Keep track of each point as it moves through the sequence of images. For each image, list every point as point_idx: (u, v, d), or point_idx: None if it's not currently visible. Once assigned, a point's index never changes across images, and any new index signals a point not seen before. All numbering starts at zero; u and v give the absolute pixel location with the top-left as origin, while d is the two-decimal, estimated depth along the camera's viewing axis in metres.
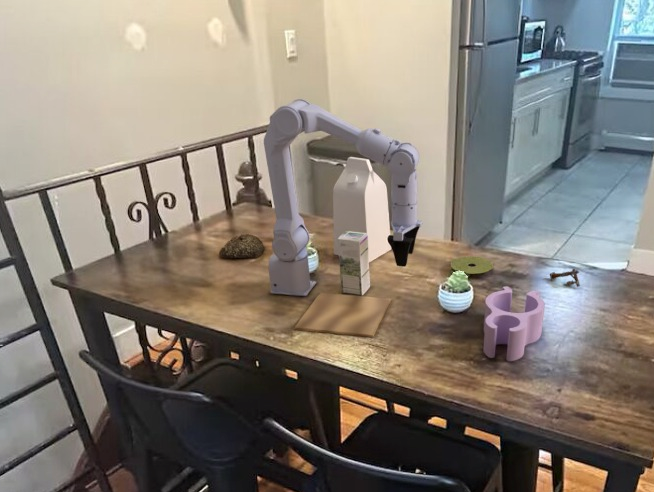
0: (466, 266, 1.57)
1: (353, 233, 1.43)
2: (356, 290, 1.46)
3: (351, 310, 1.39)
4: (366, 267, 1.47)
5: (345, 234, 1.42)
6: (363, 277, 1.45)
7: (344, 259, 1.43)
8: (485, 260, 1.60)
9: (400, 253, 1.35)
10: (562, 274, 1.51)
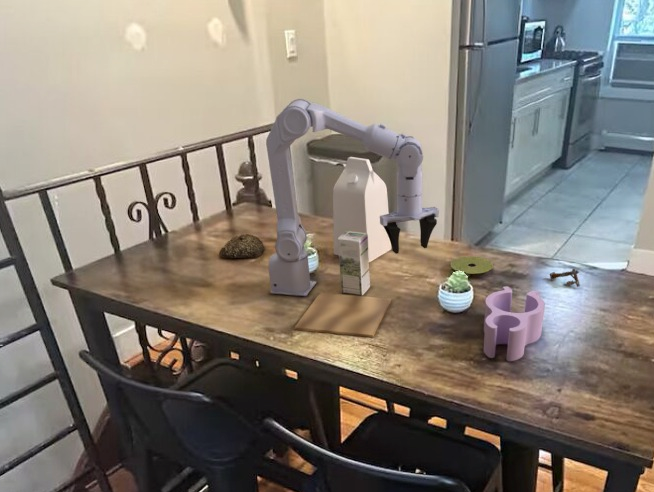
0: (467, 266, 1.57)
1: (353, 233, 1.43)
2: (356, 290, 1.46)
3: (351, 310, 1.39)
4: (366, 267, 1.47)
5: (345, 234, 1.42)
6: (363, 277, 1.45)
7: (344, 259, 1.43)
8: (485, 260, 1.60)
9: (393, 239, 1.42)
10: (562, 274, 1.51)
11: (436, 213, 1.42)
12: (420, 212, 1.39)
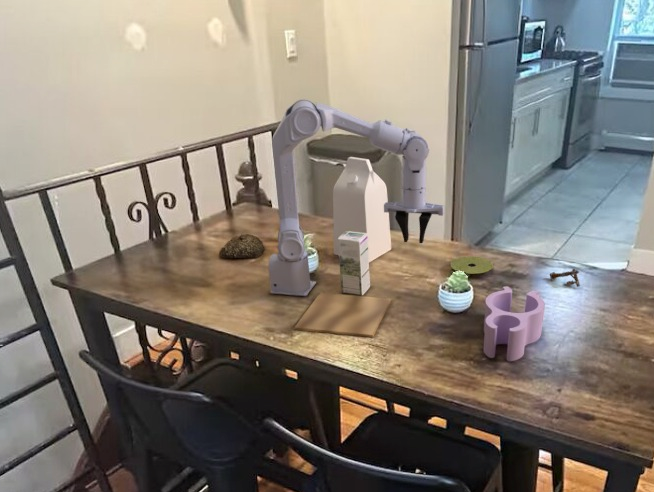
0: (466, 266, 1.57)
1: (353, 233, 1.43)
2: (356, 290, 1.46)
3: (351, 310, 1.39)
4: (366, 267, 1.47)
5: (345, 234, 1.42)
6: (363, 277, 1.45)
7: (344, 259, 1.43)
8: (485, 260, 1.60)
9: None
10: (562, 274, 1.51)
11: (440, 211, 1.43)
12: (419, 206, 1.42)
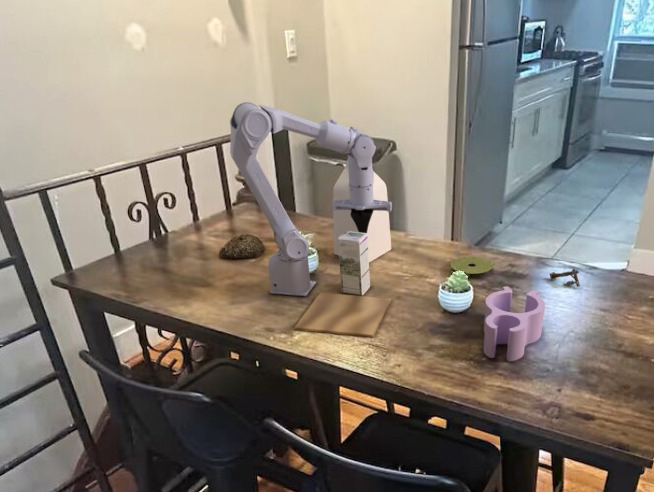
0: (467, 266, 1.57)
1: (353, 233, 1.43)
2: (356, 290, 1.46)
3: (351, 310, 1.39)
4: (366, 267, 1.47)
5: (345, 234, 1.42)
6: (363, 277, 1.45)
7: (344, 259, 1.43)
8: (485, 260, 1.60)
9: None
10: (562, 274, 1.51)
11: (388, 207, 1.46)
12: (367, 203, 1.45)
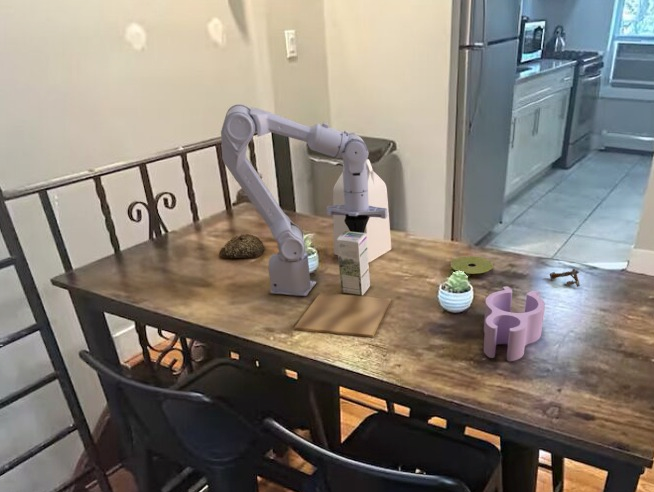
0: (467, 266, 1.57)
1: (352, 233, 1.42)
2: (356, 290, 1.46)
3: (351, 310, 1.39)
4: (366, 267, 1.46)
5: (344, 234, 1.42)
6: (363, 278, 1.45)
7: (343, 259, 1.43)
8: (485, 260, 1.60)
9: None
10: (562, 274, 1.51)
11: (382, 214, 1.41)
12: (361, 209, 1.41)
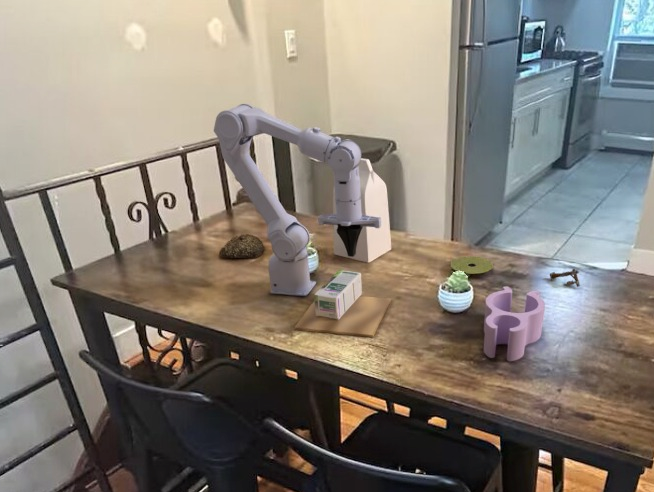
0: (467, 266, 1.57)
1: (324, 302, 1.34)
2: None
3: (351, 310, 1.39)
4: (351, 289, 1.40)
5: (318, 306, 1.35)
6: (355, 296, 1.42)
7: None
8: (485, 260, 1.60)
9: None
10: (562, 274, 1.51)
11: (376, 224, 1.36)
12: (353, 219, 1.35)
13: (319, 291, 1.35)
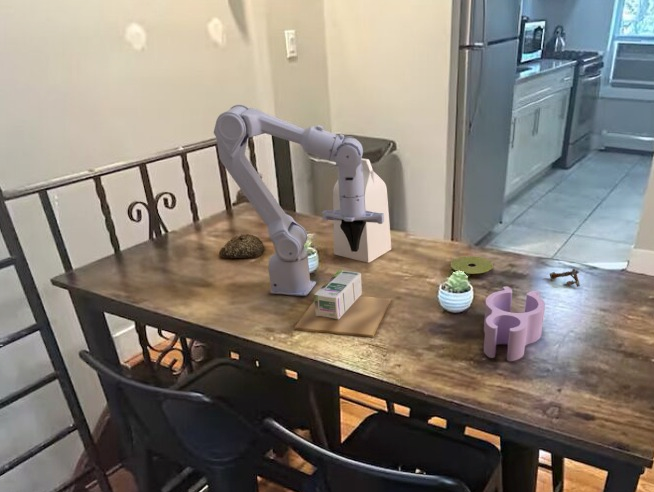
0: (467, 266, 1.57)
1: (324, 302, 1.34)
2: None
3: (351, 310, 1.39)
4: (351, 289, 1.40)
5: (318, 306, 1.35)
6: (355, 296, 1.42)
7: None
8: (485, 260, 1.60)
9: None
10: (562, 274, 1.51)
11: (379, 220, 1.38)
12: (357, 214, 1.37)
13: (319, 291, 1.35)
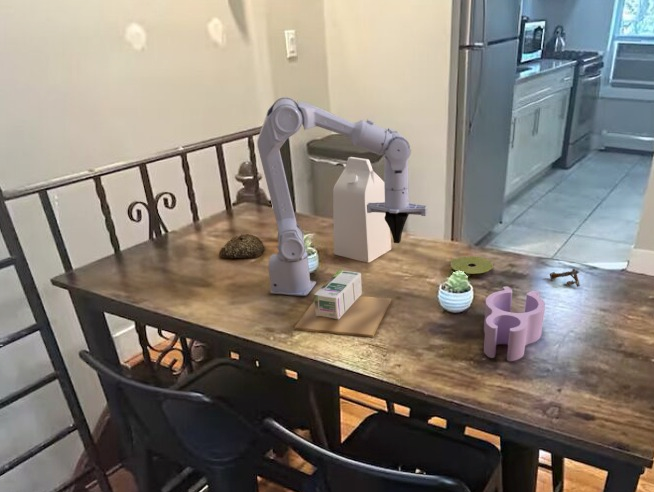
0: (467, 266, 1.57)
1: (324, 302, 1.34)
2: None
3: (351, 310, 1.39)
4: (351, 289, 1.40)
5: (318, 306, 1.35)
6: (355, 296, 1.42)
7: None
8: (485, 260, 1.60)
9: None
10: (562, 274, 1.51)
11: (422, 212, 1.43)
12: (401, 207, 1.42)
13: (319, 291, 1.35)
